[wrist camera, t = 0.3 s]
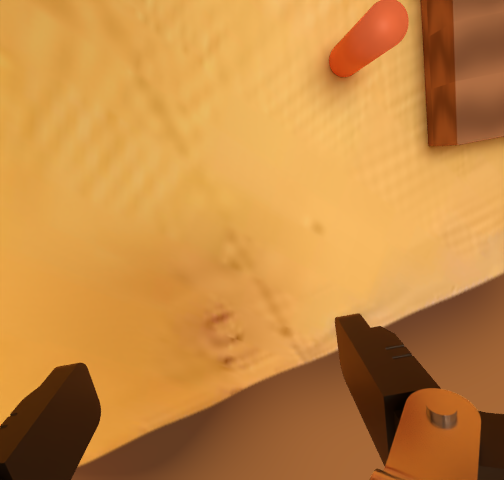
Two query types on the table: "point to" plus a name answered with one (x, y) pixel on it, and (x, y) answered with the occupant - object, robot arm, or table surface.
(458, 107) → the bore block
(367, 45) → the dowel
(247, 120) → the table surface
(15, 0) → the table surface
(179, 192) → the table surface
